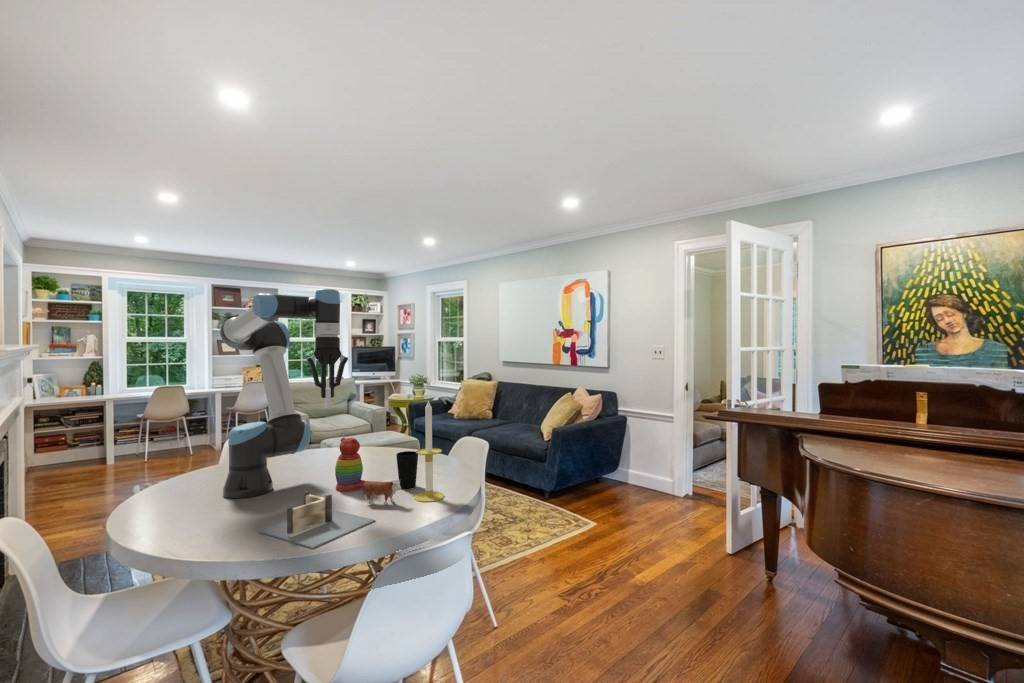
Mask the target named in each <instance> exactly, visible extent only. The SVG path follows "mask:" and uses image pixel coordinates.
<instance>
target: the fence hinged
mask: <svg viewBox="0 0 1024 683" xmlns="http://www.w3.org/2000/svg"><path fill="white" fill-rule="evenodd" d="M286 521H287V533H292V532H295V531H298V530H301V529H304V528H307V527H310V526H313V525H316V524H319V523H321V522H324V521H325V500H323V499H322V500H318V501H315V502H312V503H308V504H305V505H304V504H302V505H299V506H296V507H294V506H288V507H286Z"/></svg>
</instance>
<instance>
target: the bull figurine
mask: <svg viewBox="0 0 1024 683" xmlns="http://www.w3.org/2000/svg"><path fill="white" fill-rule="evenodd" d="M400 481H401V480H399V478H398V479H397V478H394V479H389V480H388V479H387V480H383V481H381V480H380V481H379V480H377V481H373V480H365V482H364V483H363V486H362V488H363V489H362V492H363V496H364V499H365V501H367V502H369V505H371V506H374V505H375V503H374V502H373V500H372V495H375V496H376V497H377V498H379V497H380V496H384V502H383V504H384V506H388V505H389V504H388V500H389V499H390V503H391V504H395V500H394V499H393V497H394V495H395V494H396V492H397V491H400V490H402V489H401V487H400Z"/></svg>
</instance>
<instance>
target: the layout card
mask: <svg viewBox="0 0 1024 683" xmlns="http://www.w3.org/2000/svg"><path fill="white" fill-rule="evenodd" d="M374 522H376V519H373V518H369V517H366V516H362V515H357V514H352V513H350V512H344V511H340V510H336V509H333V508H332V521H329V522H326V521H324V522H321V523H319V524H316V525H313V526H310V527H307V528H304V529H301V530H298V531H295V532H292V533H287V520H284V521H282V522H280V523H277V524H275V525H272V526H269V527H266V528H263V529H261V530H259V531H258V532H259V533H260V534H262V535H267V536H270V537H273V538H276V539H280V540H282V541H285V542H289V543H291V542H292V544H296V545H298V546H300V547H305V548H308V549H311V550H314V549H317V548H318V547H320V546H323V545H325V544H328V543H329V542H332V541H334V540H336V539H339V538H341V537H343V536H345V535H348V534H350V533H351V532H354V531H357V530H359V529H361V528H363V527H366V526H368V525H370V524H372V523H374Z"/></svg>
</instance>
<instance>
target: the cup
mask: <svg viewBox="0 0 1024 683" xmlns="http://www.w3.org/2000/svg"><path fill="white" fill-rule="evenodd" d="M395 456H396V466H397V473H398V475H397V476H398V481H399V480H401V481H400V487H401V489H400V490H403V489H409V490H412V488H413V489H415V488H416V486H417V475H418V474H417V473H418V461H419V454H417V453H416V451H413V450H406V451H399V452H397V453H396V455H395Z"/></svg>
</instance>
